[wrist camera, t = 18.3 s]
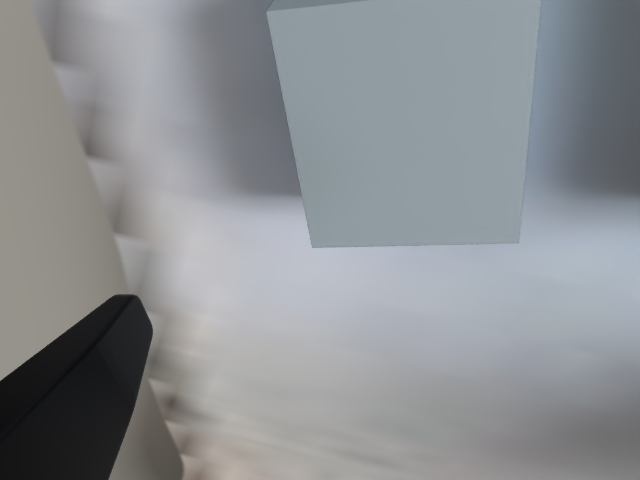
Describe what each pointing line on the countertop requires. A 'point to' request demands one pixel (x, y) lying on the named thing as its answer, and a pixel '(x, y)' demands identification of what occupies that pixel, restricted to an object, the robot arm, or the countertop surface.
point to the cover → (408, 116)
